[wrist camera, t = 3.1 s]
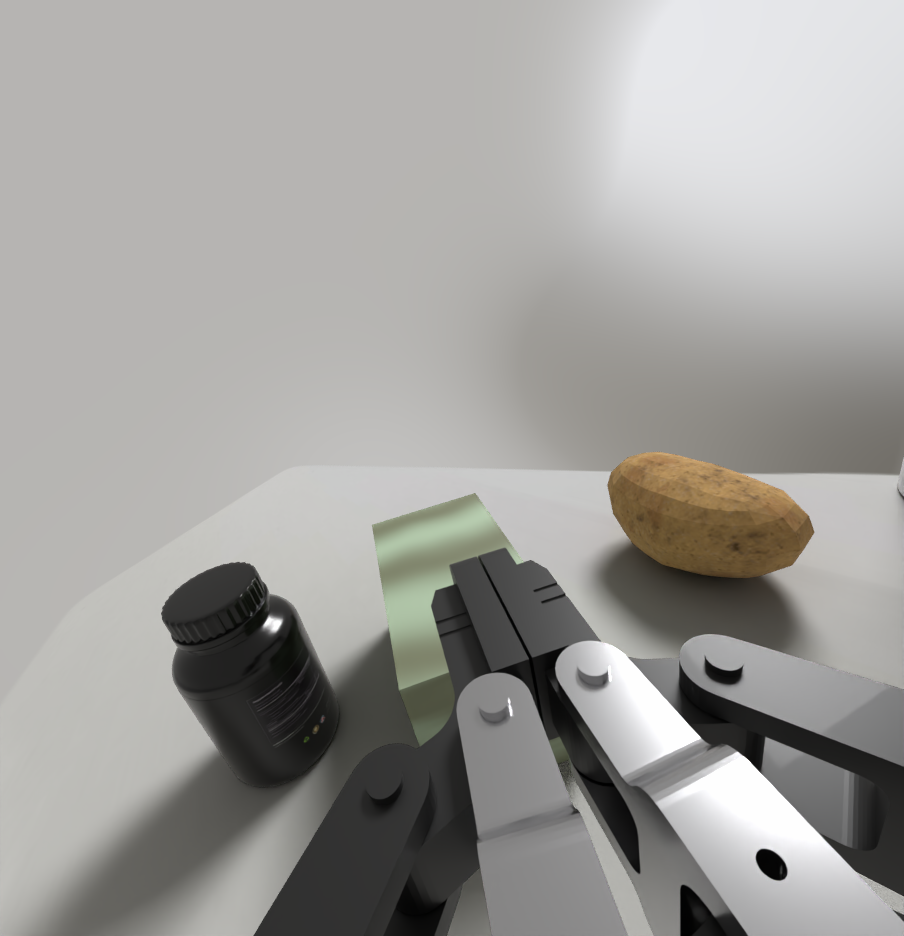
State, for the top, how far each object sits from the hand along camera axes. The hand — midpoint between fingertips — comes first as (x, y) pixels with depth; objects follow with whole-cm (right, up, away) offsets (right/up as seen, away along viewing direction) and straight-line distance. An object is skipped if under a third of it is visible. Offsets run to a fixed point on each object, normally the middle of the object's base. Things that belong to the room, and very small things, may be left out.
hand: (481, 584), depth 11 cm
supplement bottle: (-11, -14, +17) cm, 25 cm away
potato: (+19, -4, +24) cm, 30 cm away
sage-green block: (+1, -11, +18) cm, 21 cm away
